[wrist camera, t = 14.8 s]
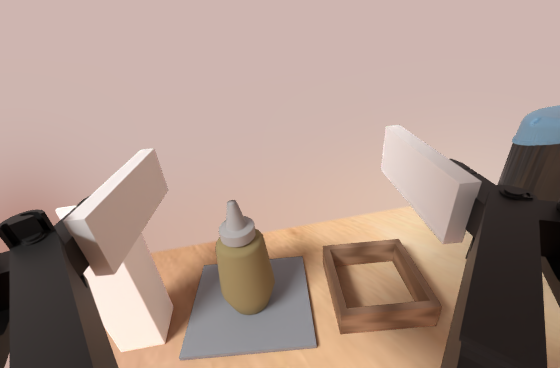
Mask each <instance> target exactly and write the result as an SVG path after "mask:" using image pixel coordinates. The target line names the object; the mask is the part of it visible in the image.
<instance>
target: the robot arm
mask: <svg viewBox="0 0 560 368" xmlns="http://www.w3.org/2000/svg"><path fill="white" fill-rule="evenodd" d="M512 142H513V144H512V147H511V150H510V153H509V155H508V158H507V161H506V164H505V167H504V169H503V172H502V174H501V177H500V180H499V182H498V185H495V184H493V183H492V182H490V181H489V180H487V179H486V178H484V177H483V176H481V175H480V174H477V172H475V171H474V170H472V169H470V168H469V167H468V166H466V165H465V164H463V163H461V162H458V161H456V160H453V159H448V158H446V157H445V156H444V155H442V154H441V153H439V152H438V151H436V150H435V149H434V148H432V147H430V146H429V145H428V144H426V143H425V142H423V141H422V140H420V139H419V138H418V137H416V136H415V135H413V134H412V133H410V132H409V131H407V130H406V129H404V128H403V127H401V126H400V125H394V126H386V129H385V138H384V146H383V155H382V164H381V171H382V172H383V173H384V174H385V176H386V177H387V178H388V179H389V180H390V182H391V183H392V184H393V185H394V186H395V187H396V189H397V190H398V191H399V192H400V193H401V195H402V196H403V197H404V198H405V199H406V201H407V202H408V203H409V204H410V205H411V207H412V208H413V209H414V210H415V211H416V213H417V214H418V215H419V216H420V217H421V219H422V220H423V221H424V222H425V223H426V225H427V226H428V227H429V228H430V229H431V231H432V232H433V233H434V234H435V235H436V237H437V238H438V239H439V240H440V241H441V243H442V244H448V243H459V242H462V241H463V238H464V235H465V232H466V230H467V231H468V232H469V233H470V234H471V235H472V236H473V238H472V241H471V244H470V247H469V250H468V253H467V255H466V258H465V259H467V261H466V265H465V269H464V273H463V277H462V282H461V286H460V290H459V294H458V298H457V302H456V307H455V311H454V315H453V319H452V323H451V327H450V332H449V336H448V340H447V344H446V348H445V352H444V357H443V361H442V365H441V368H547V354H546V336H545V319H544V301H543V283H542V272H543V274H544V276H545V278H546V280H547V282H548V284H549V286H550V288H551V291H552V293H553V295H554V297H555V299H556V301H557V303H558V305H559V307H560V106H553V107H547V108H542V109H539V110H536V111H533V112H532V113H530V114H528V115H527V116H526V117H525V118H524V119H523V120H522V122H521V124H520V126H519V129H518V131H517V133H516V135H515V136H514V137H513V139H512ZM167 191H168V188H167V185H166V182H165V179H164V176H163V173H162V170H161V167H160V164H159V161H158V158H157V155H156V152H155V149H154V148H152V149H142V150H140V151H139V152H138V153H137V154H135V155H134V156H133V157H132V158H131V159H130V160H129V161H128V162H127V163H126V164H124V165H123V166H122V167H121V168H120V169H119V170H118V171H117V172H116V173H115V174H114V175H112V176H111V177H110V178H109V179H108V180H107V181H106V182H105V183H104V184H103V185H101V186H100V187H99V188H98V189H97V190H96V191H95V192H94V193H93V194H92V195H90V196H89V197H87V198H85V199H83V200H82V201H81V202H80V203H79V204H78V205H77V206H76V207H75V208H73V209H72V210H71V211H70V213H68V214H67V215H66V216H65V217H63V218H62V219H61V220H60V221H59V222H58V223H57V224H56V225H55V226H53V225H52V223H51V222H50V220H49V218H48V217H47V215H46V214H45V212H44V211H43V210H30V211H26V212H23V213H20V214H18V215H15V216H12V217H10V218H9V219H7V220H5V221H3V222H2V223H1V224H0V237H1V239H2V240H3V241H4V243H6V245H7V246H8V248H9V249H10V251H7V252H3V253H0V368H4V366H5V364H6V361H7V358H8V355H9V352H10V368H118V365H117V363H116V360H115V357H114V354H113V351H112V348H111V345H110V343H109V340H108V337H107V334H106V331H105V328H104V326H103V323H102V320H101V317H100V314H99V311H98V309H97V306H96V303H95V300H94V297H93V294H92V292H91V289H90V286H89V283H88V280H87V278H86V277H85V275H84V274H83V273H84V272H85V270H86V269H87V268H88V266H90V268H91V269H92V271H93V273H94V274H95V276H104V275H115V273H116V272H117V270H118V269H119V267H120V266H121V264H122V262H123V261H124V259H125V258H126V256H127V254H128V253H129V251H130V250H131V248H132V247H133V245H134V243H135V242H136V240H137V239H138V237H139V236H140V234H141V232H142V231H143V229H144V228H145V226H146V224H147V223H148V221H149V220H150V218H151V217H152V215H153V213H154V212H155V210H156V209H157V207H158V205H159V204H160V202H161V201H162V199H163V198H164V196H165V194H166V193H167Z"/></svg>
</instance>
